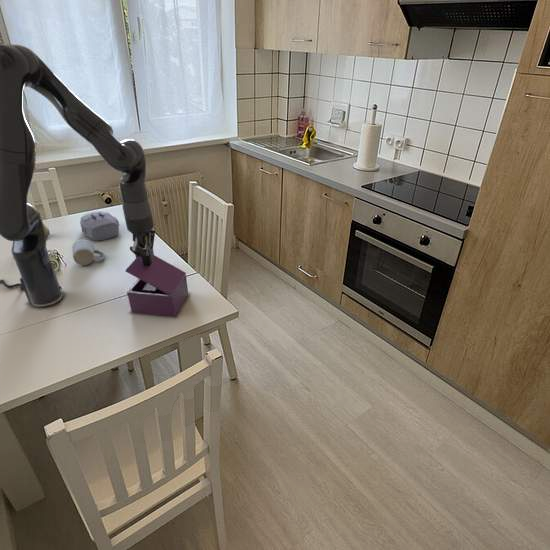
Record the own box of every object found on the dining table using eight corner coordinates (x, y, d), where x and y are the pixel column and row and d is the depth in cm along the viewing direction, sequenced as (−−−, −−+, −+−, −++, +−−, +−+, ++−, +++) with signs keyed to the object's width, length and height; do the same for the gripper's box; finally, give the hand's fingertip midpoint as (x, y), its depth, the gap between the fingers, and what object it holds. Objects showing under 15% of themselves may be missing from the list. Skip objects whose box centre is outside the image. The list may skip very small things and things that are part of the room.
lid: (125, 271, 117) (126, 269, 116) (143, 251, 127) (144, 249, 127) (171, 296, 119) (172, 294, 119) (185, 274, 130) (186, 272, 129)
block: (144, 303, 128) (141, 289, 125) (149, 295, 131) (146, 282, 129) (157, 304, 127) (154, 290, 124) (162, 296, 131) (159, 283, 128)
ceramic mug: (75, 268, 147) (70, 250, 143) (75, 258, 153) (70, 240, 149) (105, 263, 151) (101, 245, 147) (104, 253, 157) (100, 236, 153)
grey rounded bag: (125, 234, 171) (110, 219, 184) (121, 217, 166) (106, 202, 180) (89, 244, 163) (76, 227, 176) (84, 226, 158) (71, 210, 172)
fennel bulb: (38, 234, 170) (29, 208, 163) (50, 232, 172) (42, 206, 165) (37, 240, 165) (28, 213, 159) (50, 238, 167) (41, 212, 161)
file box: (131, 312, 125) (126, 292, 121) (147, 290, 136) (144, 271, 131) (175, 316, 123) (172, 296, 119) (188, 294, 134) (185, 274, 130)
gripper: (135, 203, 119) (145, 253, 128) (114, 221, 107) (126, 275, 117) (159, 205, 118) (167, 255, 127) (140, 223, 107) (150, 277, 116)
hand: (147, 264), depth 122 cm, fingers closed
